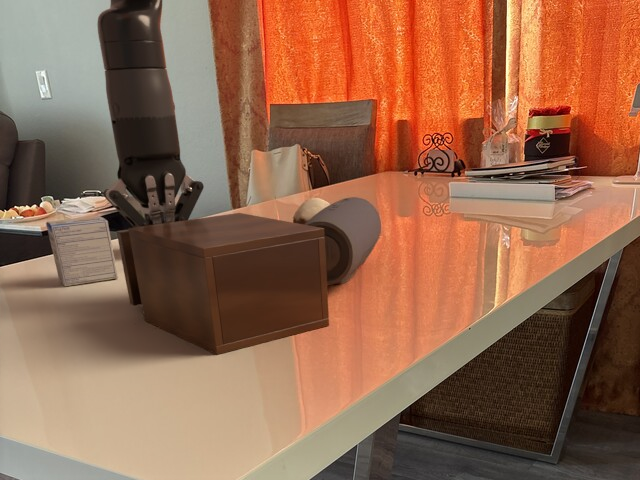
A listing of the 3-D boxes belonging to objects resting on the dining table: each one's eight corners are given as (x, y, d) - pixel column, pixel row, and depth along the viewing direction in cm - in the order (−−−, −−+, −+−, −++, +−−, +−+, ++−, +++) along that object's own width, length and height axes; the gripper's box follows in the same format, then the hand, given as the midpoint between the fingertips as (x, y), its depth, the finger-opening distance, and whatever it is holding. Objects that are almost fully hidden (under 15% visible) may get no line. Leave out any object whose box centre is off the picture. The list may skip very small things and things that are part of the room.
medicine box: (111, 274, 111) (100, 215, 107) (119, 279, 107) (107, 218, 103) (58, 281, 107) (44, 221, 103) (64, 287, 104) (50, 225, 100)
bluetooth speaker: (328, 259, 115) (324, 193, 110) (385, 260, 114) (384, 192, 109) (290, 295, 96) (284, 216, 91) (358, 296, 94) (355, 216, 89)
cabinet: (144, 321, 87) (127, 228, 82) (248, 298, 95) (239, 212, 90) (216, 354, 75) (202, 248, 69) (329, 325, 83) (324, 228, 77)
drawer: (115, 298, 93) (101, 227, 89) (207, 280, 101) (199, 213, 97) (191, 331, 79) (179, 248, 75) (292, 308, 86) (286, 231, 82)
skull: (307, 228, 135) (336, 187, 128) (342, 270, 134) (372, 230, 127) (266, 237, 126) (295, 192, 119) (303, 281, 125) (333, 239, 118)
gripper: (179, 111, 91) (198, 250, 100) (76, 116, 84) (106, 266, 92) (207, 111, 86) (224, 258, 94) (100, 116, 79) (130, 274, 87)
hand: (166, 261), depth 93 cm, fingers closed
